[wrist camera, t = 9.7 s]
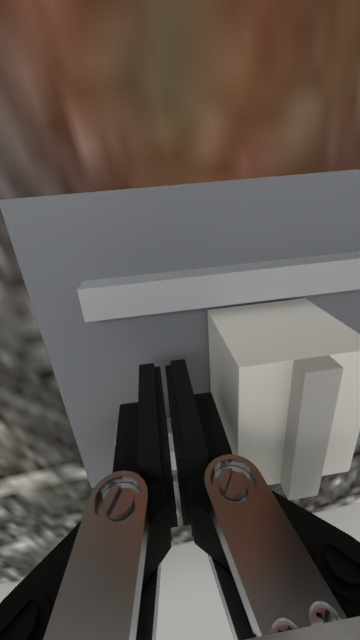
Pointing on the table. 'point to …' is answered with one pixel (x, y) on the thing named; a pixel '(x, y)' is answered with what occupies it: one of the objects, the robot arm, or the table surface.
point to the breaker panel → (173, 279)
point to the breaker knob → (287, 390)
